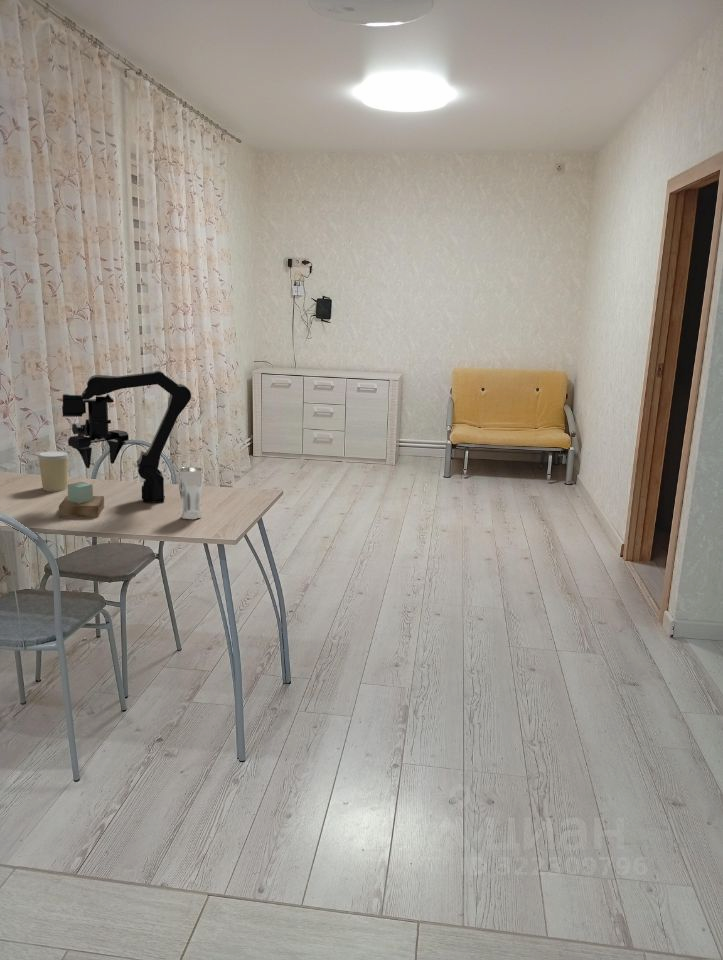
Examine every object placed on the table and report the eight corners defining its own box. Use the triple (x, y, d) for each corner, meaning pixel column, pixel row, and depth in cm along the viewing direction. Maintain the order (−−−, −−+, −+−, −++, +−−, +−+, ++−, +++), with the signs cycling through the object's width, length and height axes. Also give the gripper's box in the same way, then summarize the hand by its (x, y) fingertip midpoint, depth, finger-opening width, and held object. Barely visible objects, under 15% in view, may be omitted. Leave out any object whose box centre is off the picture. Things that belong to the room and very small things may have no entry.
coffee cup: (73, 485, 258) (72, 451, 255) (64, 492, 248) (63, 457, 246) (46, 484, 257) (44, 450, 254) (35, 491, 248) (33, 456, 245)
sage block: (82, 497, 231) (81, 481, 230) (93, 500, 228) (92, 484, 227) (68, 500, 227) (67, 484, 226) (79, 503, 224) (78, 487, 223)
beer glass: (202, 520, 225) (202, 471, 222) (178, 520, 224) (177, 471, 220) (203, 514, 232) (203, 466, 228) (180, 514, 231) (179, 466, 227)
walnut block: (104, 508, 235) (103, 496, 234) (98, 518, 224) (97, 505, 223) (67, 508, 233) (66, 496, 232) (59, 518, 222) (58, 505, 221)
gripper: (105, 410, 244) (107, 457, 248) (55, 416, 229) (58, 466, 233) (129, 414, 239) (130, 462, 242) (78, 421, 223) (81, 472, 227)
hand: (100, 465), depth 236 cm, fingers open, 9 cm apart
